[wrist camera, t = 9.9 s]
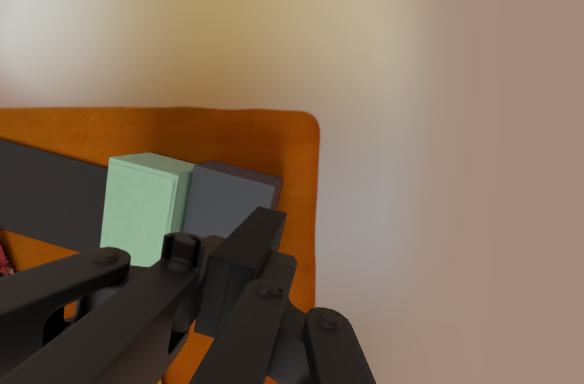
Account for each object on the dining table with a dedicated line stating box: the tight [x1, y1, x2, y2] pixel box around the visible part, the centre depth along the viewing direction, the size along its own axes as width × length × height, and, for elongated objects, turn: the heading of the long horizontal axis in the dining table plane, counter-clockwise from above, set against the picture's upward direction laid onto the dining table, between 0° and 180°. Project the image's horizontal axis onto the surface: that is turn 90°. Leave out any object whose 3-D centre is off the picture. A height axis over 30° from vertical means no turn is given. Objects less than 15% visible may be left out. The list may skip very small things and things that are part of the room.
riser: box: [183, 160, 283, 238], centre depth 42 cm, size 18×10×6 cm, turn 166°
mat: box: [0, 139, 108, 252], centre depth 47 cm, size 14×31×1 cm, turn 76°
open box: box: [100, 152, 197, 267], centre depth 42 cm, size 16×8×8 cm
